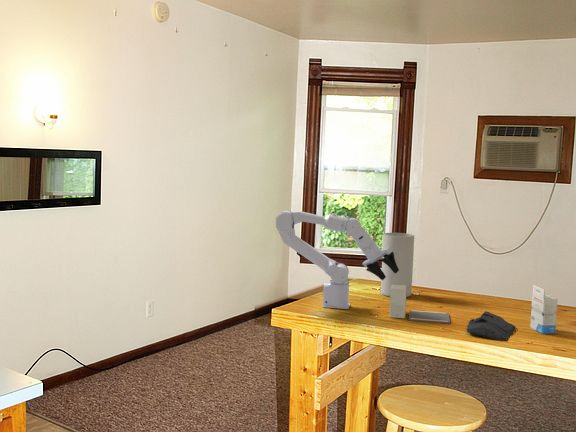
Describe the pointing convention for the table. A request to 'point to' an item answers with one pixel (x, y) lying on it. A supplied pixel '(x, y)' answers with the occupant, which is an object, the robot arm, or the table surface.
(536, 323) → the ink box
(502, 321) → the crumpled dark cloth
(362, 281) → the table surface
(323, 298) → the robot arm
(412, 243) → the cylinder vase
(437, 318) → the mat
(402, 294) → the small box
